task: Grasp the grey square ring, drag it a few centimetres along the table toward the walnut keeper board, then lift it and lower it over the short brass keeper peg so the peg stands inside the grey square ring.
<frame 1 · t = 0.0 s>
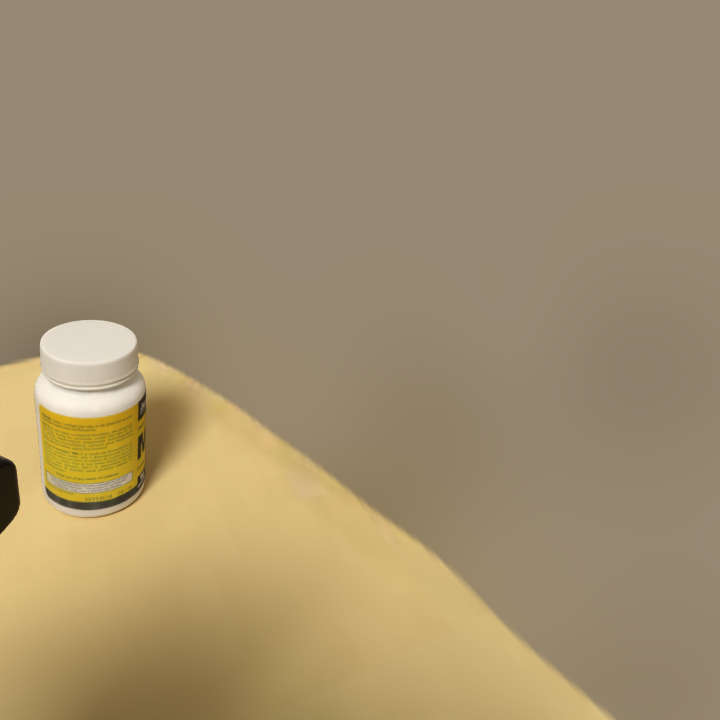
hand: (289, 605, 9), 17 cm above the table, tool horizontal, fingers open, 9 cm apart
supplement bottle: (95, 489, 33), on the table
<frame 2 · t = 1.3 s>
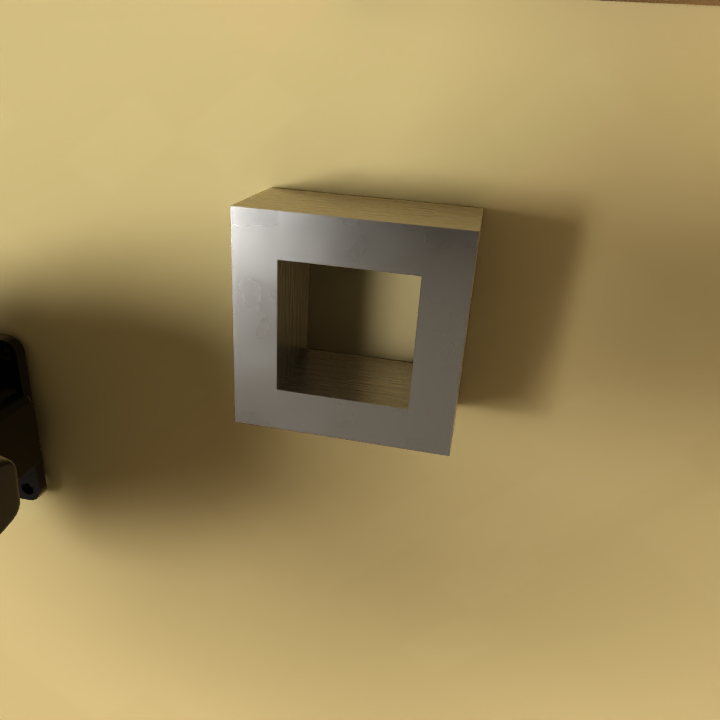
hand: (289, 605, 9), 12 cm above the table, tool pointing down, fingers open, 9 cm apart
grey square ring: (367, 300, 19), on the table
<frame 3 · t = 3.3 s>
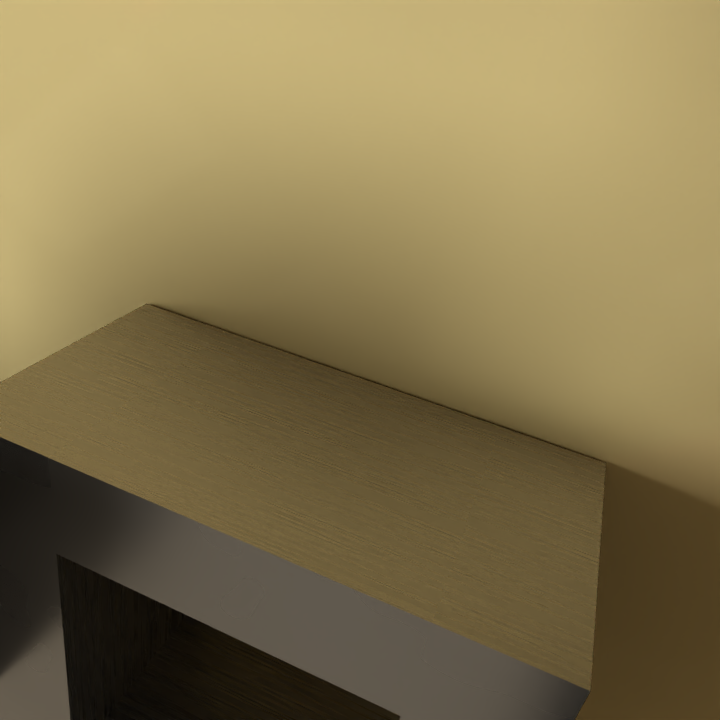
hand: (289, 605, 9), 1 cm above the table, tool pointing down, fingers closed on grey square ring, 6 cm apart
grey square ring: (321, 552, 9), on the table, touching gripper
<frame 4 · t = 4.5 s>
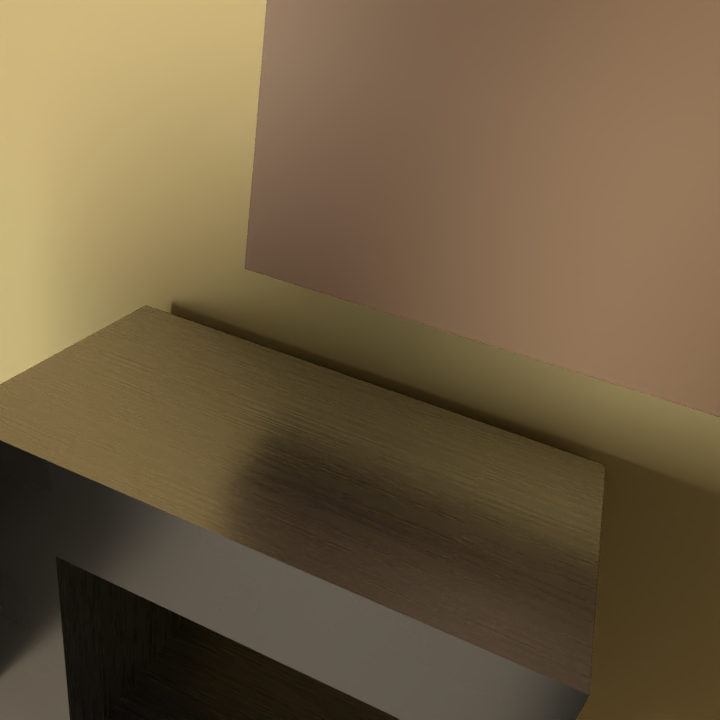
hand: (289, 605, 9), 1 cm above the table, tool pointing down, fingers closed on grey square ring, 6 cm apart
grey square ring: (321, 554, 9), on the table, touching gripper
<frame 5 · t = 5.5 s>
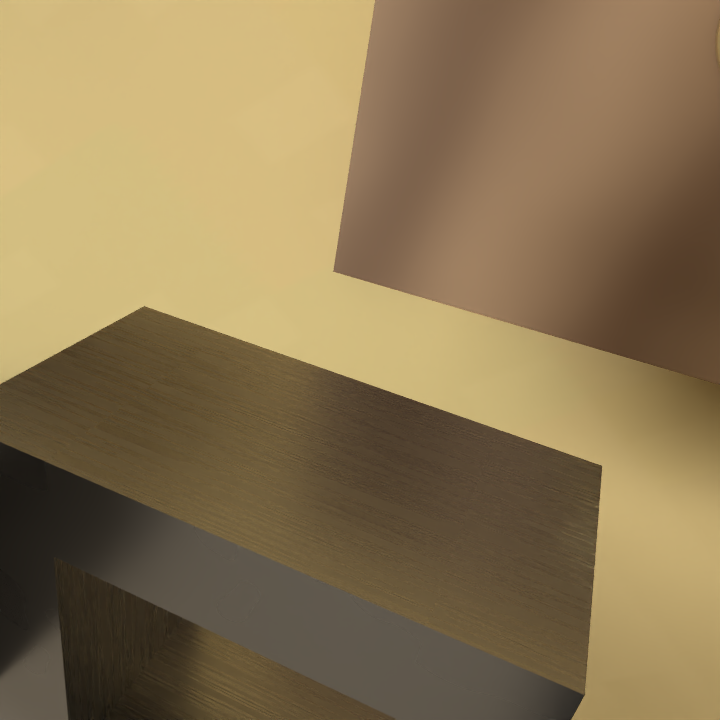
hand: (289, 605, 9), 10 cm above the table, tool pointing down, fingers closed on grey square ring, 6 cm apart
grey square ring: (319, 554, 9), point 9 cm above the table, touching gripper
when the fingers open (4 cm above the table, at t = 7.5 s): grey square ring drops 1 cm, resting on keeper board.
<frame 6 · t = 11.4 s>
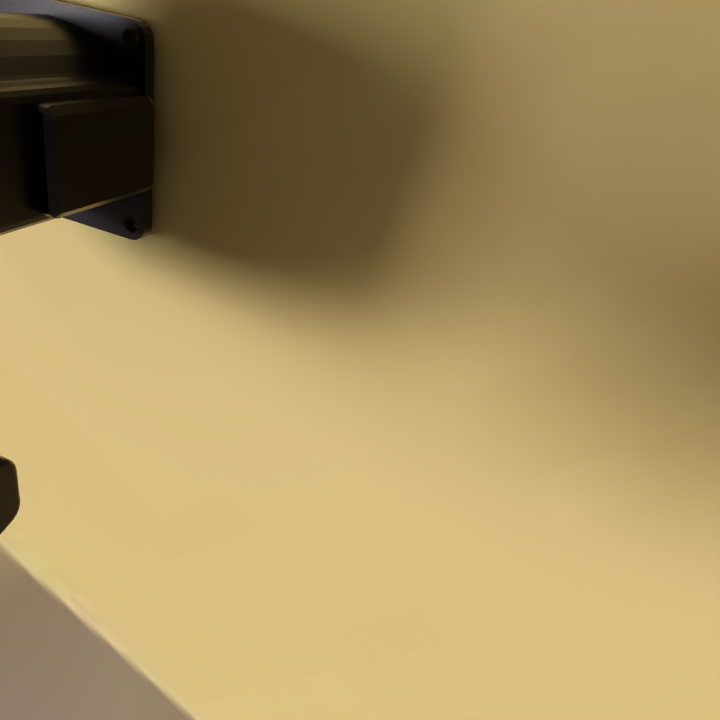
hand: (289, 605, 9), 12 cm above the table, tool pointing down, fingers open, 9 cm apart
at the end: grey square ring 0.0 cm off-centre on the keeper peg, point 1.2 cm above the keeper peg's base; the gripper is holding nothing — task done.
